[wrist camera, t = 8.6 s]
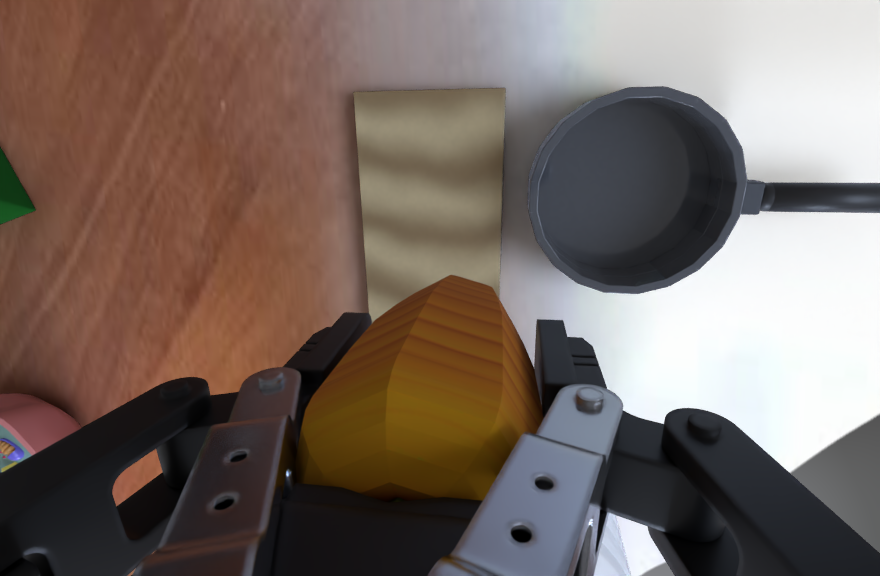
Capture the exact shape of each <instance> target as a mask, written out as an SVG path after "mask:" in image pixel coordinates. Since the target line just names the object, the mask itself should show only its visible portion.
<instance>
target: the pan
mask: <svg viewBox="0 0 880 576" xmlns="http://www.w3.org/2000/svg"><path fill="white" fill-rule="evenodd" d="M746 186H747V175H746V168H745V161H744V154H743V149H742V146H741V145H740V143H739V141H738V139H737V138H736V136H735V134H734V132H733V131H732V129H731V127H730V125H729V123H728V122H727V120H726V119H725V118H724V117H723V116H722V115H720V114H719V113H718V112H717V111H715V110H714V109H713V108H712V107H710V106H709V105H708V104H707V103H705V102H704V101H703V100H702V99H700V98H699V97H697V96H694V95H690V94H687V93H684V92H681V91H678V90H675V89H672V88H669V87H664V86H662V87H629V88H625V89H622V90H619V91H617V92H614V93H611V94H608V95H605V96H602V97H599V98H597V99H594V100H591V101H588V102H585V103H583V104H582V105H581V106H579V107H578V108H576V109H575V110H574V111H572V112H571V113H569V114H568V115H567V116H566V117H564V118H563V119H561V120H560V121H559V122H558V123H557V124H556V125H555V127H554V128H553V129H552V131H551V132H550V133H549V134H548V136H547V137H546V139H545V140H544V141H543V142H542V144H541V145H540V147H539V149H538V151H537V154H536V157H535V159H534V162H533V165H532V167H531V170H530V173H529V181H528V211H529V216H530V219H531V223H532V227H533V230H534V234H535V237H536V240H537V243H538V244H539V245H540V247H541V248H542V250H543V251H544V253H545V254H546V256H547V257H548V259H549V260H550V261H551V263H552V264H553V265H554V266H555V267H556V268H557V269H559V270H560V271H561V272H563V273H564V274H565V275H567V276H568V277H569V278H571V279H572V280H573V281H575V282H576V283H578V284H581V285H584V286H587V287H590V288H593V289H595V290H598V291H601V292H604V293H605V292H606V293H622V294H640V293H644V292H648V291H652V290H656V289H660V288H665V287H668V286H671V285H672V284H674V283H676V282H678V281H680V280H681V279H683V278H685V277H687V276H689V275H691V274H692V273H694V272H696V271H698V270H699V269H700V268H701V267H702V266H703V265H704V264H706V263H707V262H708V261H709V260H710V259H711V258H712V257H713V256H714V255H715V254H716V253H717V252H718V251H719V250H720V249H721V248H722V247H723V245H724V244H725V242H726V240H727V239H728V237H729V235H730V233H731V231H732V230H733V228H734V226H735V224H736V223H737V221H738V219H739V217H740V215H741V210H742V205H743V200H744V196H745V191H746Z"/></svg>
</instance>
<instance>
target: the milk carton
mask: <svg viewBox="0 0 880 576" xmlns="http://www.w3.org/2000/svg"><path fill="white" fill-rule="evenodd" d="M33 211H36V209H35V208H34V206H33V204H32V202H31V200H30V199H29V197H28V195H27V193H26V192H25V190H24V188H23V186H22V185H21V183H20V181H19V179H18V177H17V176H16V174H15V172H14V170H13V169H12V167H11V165H10V163H9V162H8V160H7V158H6V156H5V154H4V153H3V151H2V149H1V147H0V224H3V223H5V222H8V221H10V220H13V219H15V218H18V217H20V216H23V215H25V214H28V213H30V212H33Z"/></svg>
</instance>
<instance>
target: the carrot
mask: <svg viewBox="0 0 880 576" xmlns="http://www.w3.org/2000/svg"><path fill="white" fill-rule="evenodd" d="M543 419H544V418H543V412H542V405H541V400H540V395H539V390H538V386H537V381H536V376H535V371H534V367H533V365H532V363H531V360H530V358H529V356H528V353H527V351H526V349H525V346H524V344H523V342H522V340H521V338H520V336H519V334H518V332H517V330H516V329H515V327H514V325H513V323H512V321H511V319H510V318H509V316H508V314H507V312H506V310H505V309H504V307H503V305H502V303H501V302H500V300H499V298H498V296H497V295H496V293H495V291H494V289H493V287H491V286H488V285H486V284H483V283H479V282H476V281H473V280H469V279H466V278H463V277H459V276H455V275H449V276H447V277H445V278H443V279H441V280H439V281H437V282H435V283H433V284H431V285H429V286H427V287H426V288H424V289H422V290H420V291H418V292H416V293H414V294H412V295H411V296H409V297H407V298H406V299H404V300H402V301H401V302H399V303H398V304H396V305H395V306H393V307H392V308H391V309H389V310H388V311H387V312H385V313H384V314H382V315H381V316H380V317H378V318H377V319H376V320H375V321H374V322H373V323H372V324H371V325H370V326H369V328H368V329H367V330H366V331H365V332H364V333H363V334H362V336H361V337H360V338H359V339H358V340H357V341H356V342H355V344H354V345H353V346H352V347H351V348H350V349H349V350H348V352H347V353H346V354H345V355H344V357H343V358H342V359H341V361H340V362H339V363H338V364H337V366H336V367H335V368H334V369H333V371H332V372H331V373H330V375H329V376H328V377H327V378H326V380H325V381H324V382H323V383H322V385H321V386H320V387H319V389H318V390H317V391H316V392H315V394H314V395H313V396H312V398H311V400H310V402H309V404H308V406H307V408H306V410H305V414H304V418H303V423H302V427H301V432H300V438H299V443H298V449H297V455H296V460H295V463H296V477H297V483H302V484H313V485H323V486H334V487H343V488H346V489H349V490H352V491H355V492H358V493H361V494H364V495H367V496H370V497H373V498H376V499H379V500H382V501H385V502H400V501H410V500H419V499H429V498H438V497H449V498H460V499H470V500H481V501H483V500H484V498H485V496H486V495H487V493H488V491H489V489H490V488H491V486H492V484H493V483H494V481H495V479H496V478H497V476H498V474H499V472H500V471H501V469H502V467H503V466H504V464H505V462H506V461H507V459H508V457H509V456H510V454H511V452H512V450H513V449H514V447H515V445H516V444H517V442H518V440H519V439H520V437H521V435H522V434H523V433H524V432H530V433H533V434H536V432H537V430H538V429H539V427H540V425H541V423H542V421H543Z"/></svg>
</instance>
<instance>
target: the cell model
mask: <svg viewBox="0 0 880 576" xmlns="http://www.w3.org/2000/svg"><path fill="white" fill-rule="evenodd" d="M81 428H82V427H81V425H80V424H79V423H78V422H77V421H76V420H75V419H74V418H73V417H72V416H70V415H69V414H67V413H66V412H64V411H63V410H61V409H59V408H58V407H56V406H54V405H52V404H50V403H48V402H46V401H44V400H42V399H41V398H39V397H36V396H32V395H28V394H15V393H5V394H0V473H1V472H3V471H5V470H7V469H9V468H10V467H12V466H14V465H16V464H18V463H19V462H21V461H23V460H25V459H27V458H28V457H30V456H32V455H34V454H36V453H37V452H39V451H41V450H43V449H45V448H46V447H48V446H50V445H52V444H54V443H55V442H57V441H59V440H61V439H63V438H64V437H66V436H68V435H70V434H72V433H73V432H75V431H77V430H79V429H81Z"/></svg>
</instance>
